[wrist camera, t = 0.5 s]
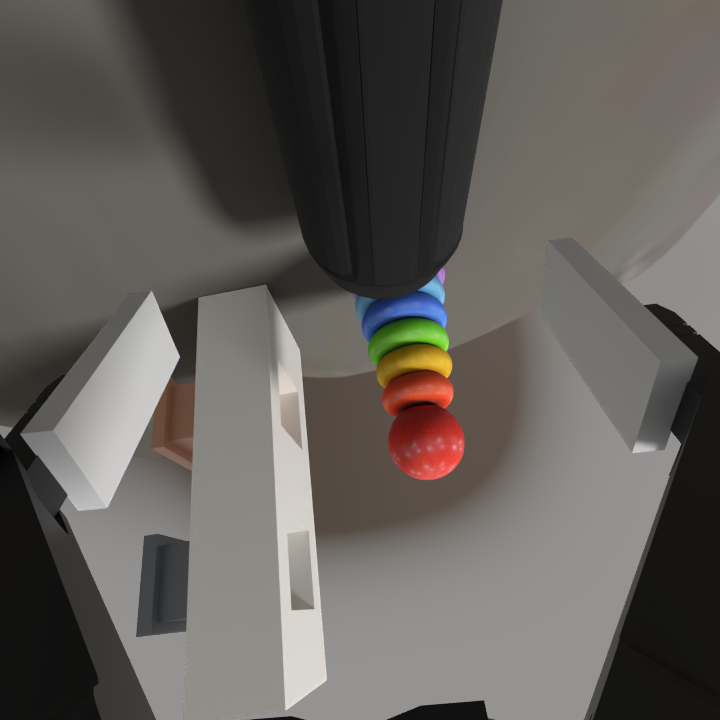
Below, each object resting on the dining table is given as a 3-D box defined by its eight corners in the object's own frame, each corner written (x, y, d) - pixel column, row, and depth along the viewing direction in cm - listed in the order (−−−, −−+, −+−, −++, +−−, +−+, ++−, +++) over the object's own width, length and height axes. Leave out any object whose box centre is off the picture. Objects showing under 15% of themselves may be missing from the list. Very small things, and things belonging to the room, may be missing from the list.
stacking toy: (344, 219, 35) (383, 465, 26) (448, 214, 36) (519, 450, 27) (341, 285, 42) (371, 497, 33) (429, 279, 43) (480, 484, 34)
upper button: (144, 536, 34) (136, 637, 31) (237, 520, 34) (238, 621, 31) (190, 547, 41) (188, 631, 38) (269, 534, 41) (272, 618, 38)
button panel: (198, 297, 41) (182, 724, 27) (265, 284, 41) (285, 710, 27) (246, 360, 52) (252, 690, 37) (299, 350, 51) (326, 680, 37)
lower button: (156, 376, 40) (151, 448, 37) (236, 362, 40) (236, 433, 37) (195, 409, 47) (193, 472, 44) (264, 396, 47) (266, 459, 44)
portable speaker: (440, 185, 34) (474, 299, 29) (303, 205, 34) (315, 322, 29) (532, -662, 11) (749, -764, 7) (120, -605, 11) (41, -668, 7)
